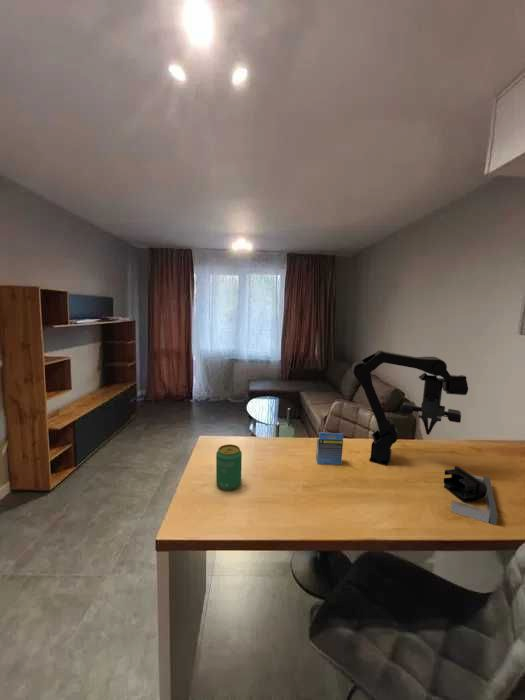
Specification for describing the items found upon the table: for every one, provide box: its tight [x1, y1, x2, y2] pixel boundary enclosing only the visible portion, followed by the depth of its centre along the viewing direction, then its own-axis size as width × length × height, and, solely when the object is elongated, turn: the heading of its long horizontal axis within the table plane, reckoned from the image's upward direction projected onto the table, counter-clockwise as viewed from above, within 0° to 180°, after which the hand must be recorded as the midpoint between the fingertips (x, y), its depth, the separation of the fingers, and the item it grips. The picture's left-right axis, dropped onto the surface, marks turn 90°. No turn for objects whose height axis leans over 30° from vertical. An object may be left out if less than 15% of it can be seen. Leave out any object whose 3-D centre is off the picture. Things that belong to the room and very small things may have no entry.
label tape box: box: [315, 431, 344, 466], centre depth 121 cm, size 9×4×12 cm, turn 89°
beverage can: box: [215, 444, 243, 491], centre depth 105 cm, size 8×8×12 cm
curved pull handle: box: [450, 474, 499, 526], centre depth 101 cm, size 11×22×3 cm, turn 150°
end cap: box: [443, 465, 487, 504], centre depth 103 cm, size 10×7×7 cm
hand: (427, 434), depth 119 cm, fingers closed
